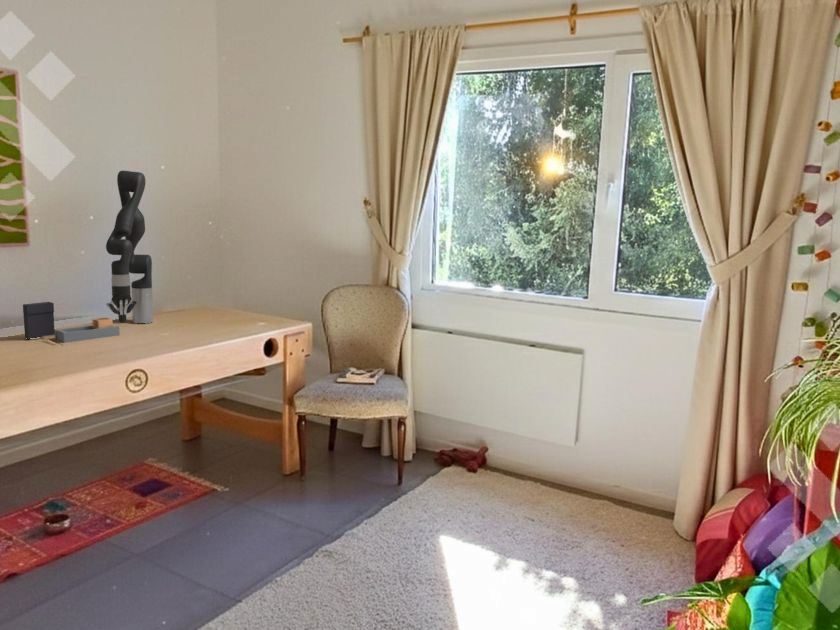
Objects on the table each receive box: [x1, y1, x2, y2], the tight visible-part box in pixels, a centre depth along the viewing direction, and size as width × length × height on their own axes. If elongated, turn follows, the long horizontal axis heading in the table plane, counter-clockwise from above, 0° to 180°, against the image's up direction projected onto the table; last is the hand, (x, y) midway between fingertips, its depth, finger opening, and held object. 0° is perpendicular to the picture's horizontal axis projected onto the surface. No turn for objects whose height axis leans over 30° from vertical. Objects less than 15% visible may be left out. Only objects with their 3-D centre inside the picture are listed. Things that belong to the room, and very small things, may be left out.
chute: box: [54, 324, 120, 346], centre depth 282 cm, size 12×26×5 cm, turn 140°
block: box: [92, 317, 114, 329], centre depth 286 cm, size 6×6×7 cm
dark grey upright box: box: [22, 301, 55, 340], centre depth 280 cm, size 11×4×15 cm, turn 145°
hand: (122, 322), depth 292 cm, fingers closed
